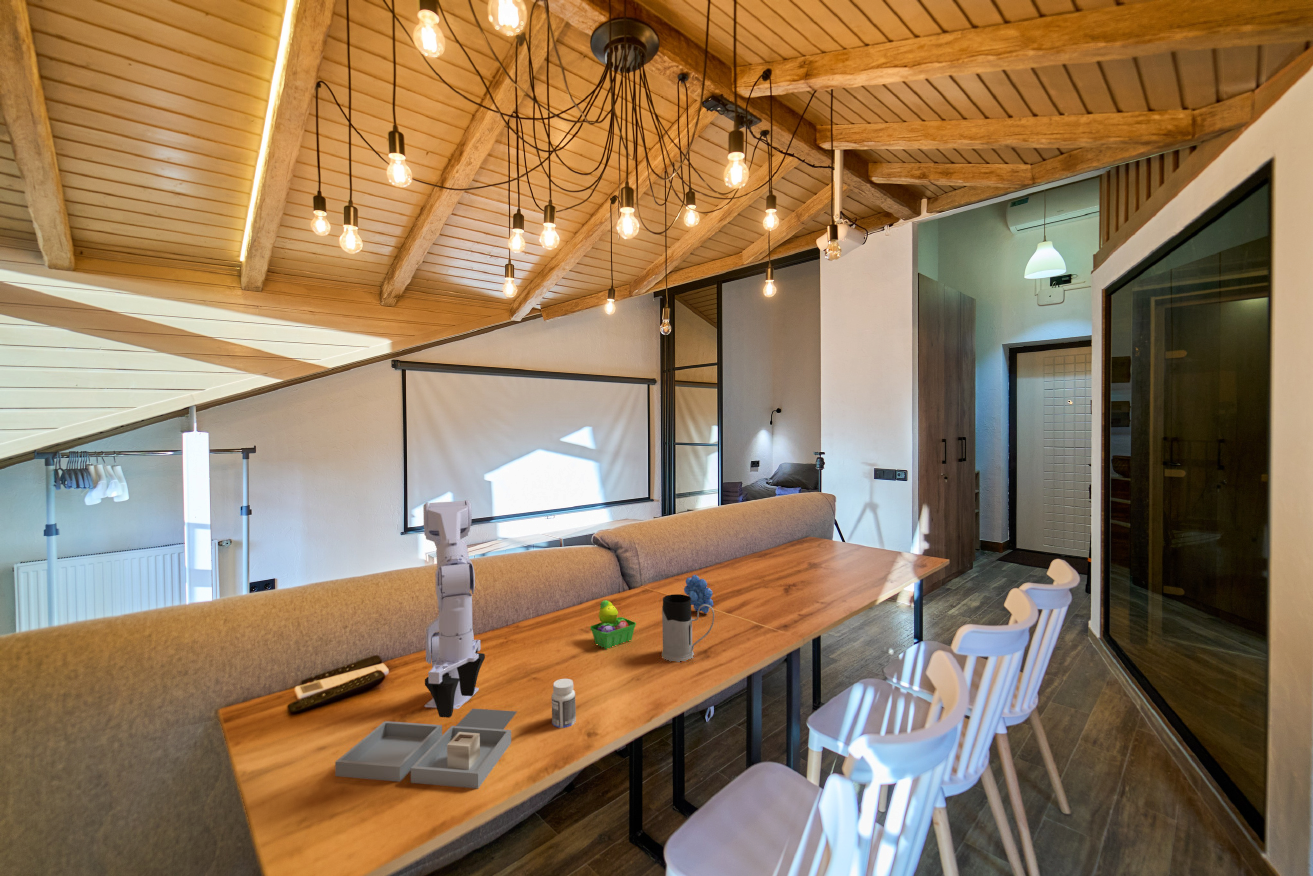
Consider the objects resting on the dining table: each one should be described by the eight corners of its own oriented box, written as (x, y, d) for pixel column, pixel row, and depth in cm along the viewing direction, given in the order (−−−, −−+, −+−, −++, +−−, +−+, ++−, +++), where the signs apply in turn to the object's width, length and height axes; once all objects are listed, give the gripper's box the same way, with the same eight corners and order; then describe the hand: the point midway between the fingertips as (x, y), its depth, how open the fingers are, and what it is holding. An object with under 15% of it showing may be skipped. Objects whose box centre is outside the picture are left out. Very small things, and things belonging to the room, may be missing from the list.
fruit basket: (605, 652, 143) (604, 610, 142) (586, 643, 149) (586, 603, 149) (637, 641, 150) (637, 601, 150) (618, 632, 157) (618, 594, 157)
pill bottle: (577, 717, 110) (576, 677, 110) (574, 730, 105) (573, 688, 105) (554, 718, 109) (553, 677, 109) (550, 731, 105) (549, 688, 105)
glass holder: (664, 647, 145) (663, 592, 145) (716, 651, 142) (715, 595, 142) (658, 660, 137) (657, 602, 137) (713, 665, 134) (712, 605, 134)
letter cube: (459, 753, 96) (458, 731, 96) (479, 755, 96) (479, 732, 96) (447, 767, 93) (447, 743, 93) (469, 769, 92) (468, 745, 92)
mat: (472, 711, 113) (472, 708, 113) (517, 714, 111) (517, 711, 111) (447, 738, 103) (447, 734, 103) (496, 741, 101) (496, 738, 101)
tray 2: (451, 741, 102) (451, 725, 102) (511, 746, 100) (511, 730, 100) (410, 786, 89) (410, 768, 89) (478, 792, 87) (478, 773, 87)
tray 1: (385, 736, 104) (384, 721, 104) (442, 740, 102) (441, 725, 102) (335, 779, 91) (335, 761, 91) (399, 785, 89) (399, 767, 89)
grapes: (676, 611, 175) (676, 575, 175) (689, 606, 180) (688, 571, 180) (704, 619, 167) (704, 581, 167) (717, 614, 172) (716, 577, 172)
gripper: (455, 647, 89) (456, 728, 89) (494, 618, 103) (495, 687, 103) (416, 645, 90) (417, 725, 90) (460, 616, 104) (462, 685, 104)
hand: (457, 705), depth 96 cm, fingers open, 7 cm apart
